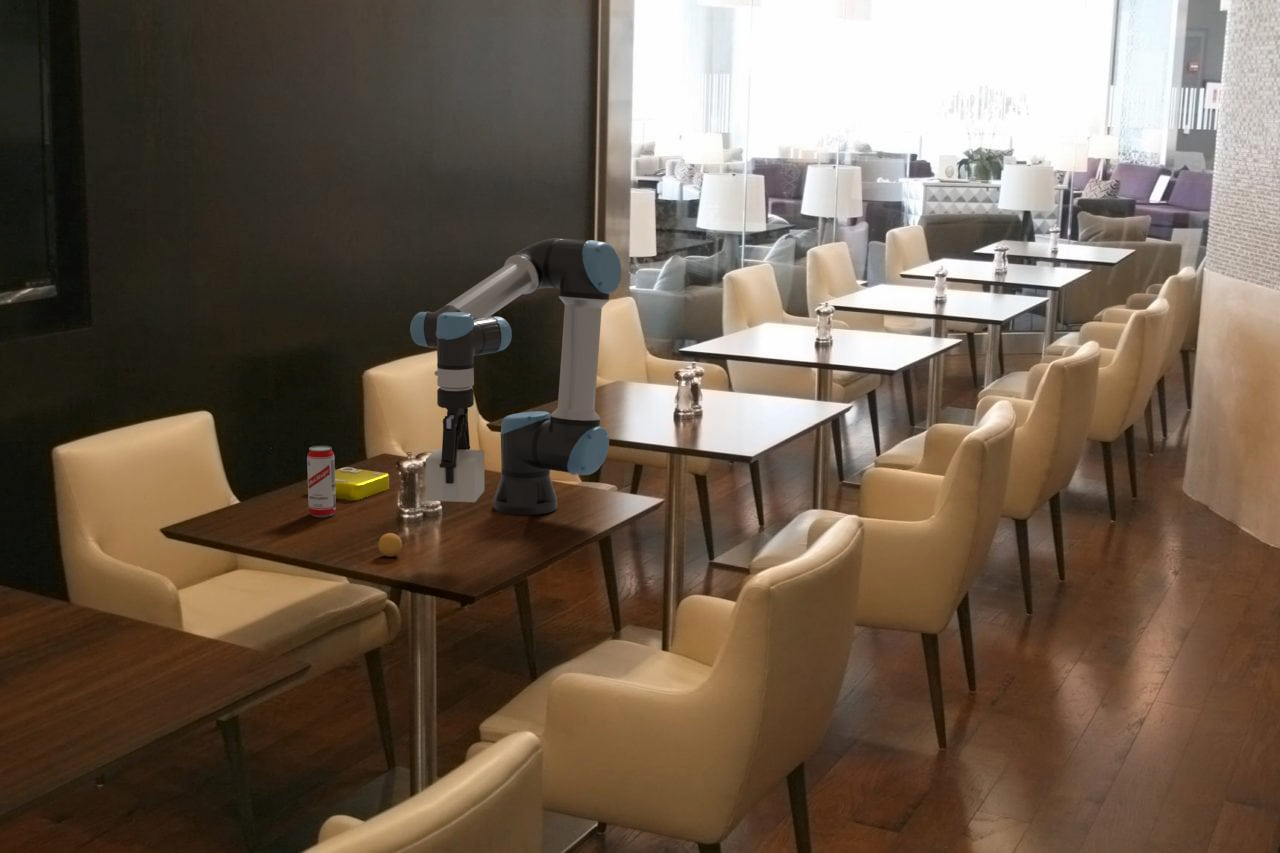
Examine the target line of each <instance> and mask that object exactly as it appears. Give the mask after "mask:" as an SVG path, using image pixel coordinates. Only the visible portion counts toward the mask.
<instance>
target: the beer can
mask: <svg viewBox="0 0 1280 853" xmlns="http://www.w3.org/2000/svg"><path fill="white" fill-rule="evenodd" d="M308 449H309V450H308V451H309V452H308V453H307V457H306V463H307V464H306V465H307V500H308V501H307V502H308V513H309V514H310V515H311V516H312V517H313V516H314V517H313V518H329V516H330V517H332V516H333V515H334V514H336V511H337V504H336V503H337V502H336V499H337V498H336V496H335V470H336V467H335V462H336V461H335V453H334V451H333V450H332V449H333V448H332V446H329V445H315V446H314V445H313V446H311V447H309V448H308Z"/></svg>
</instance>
